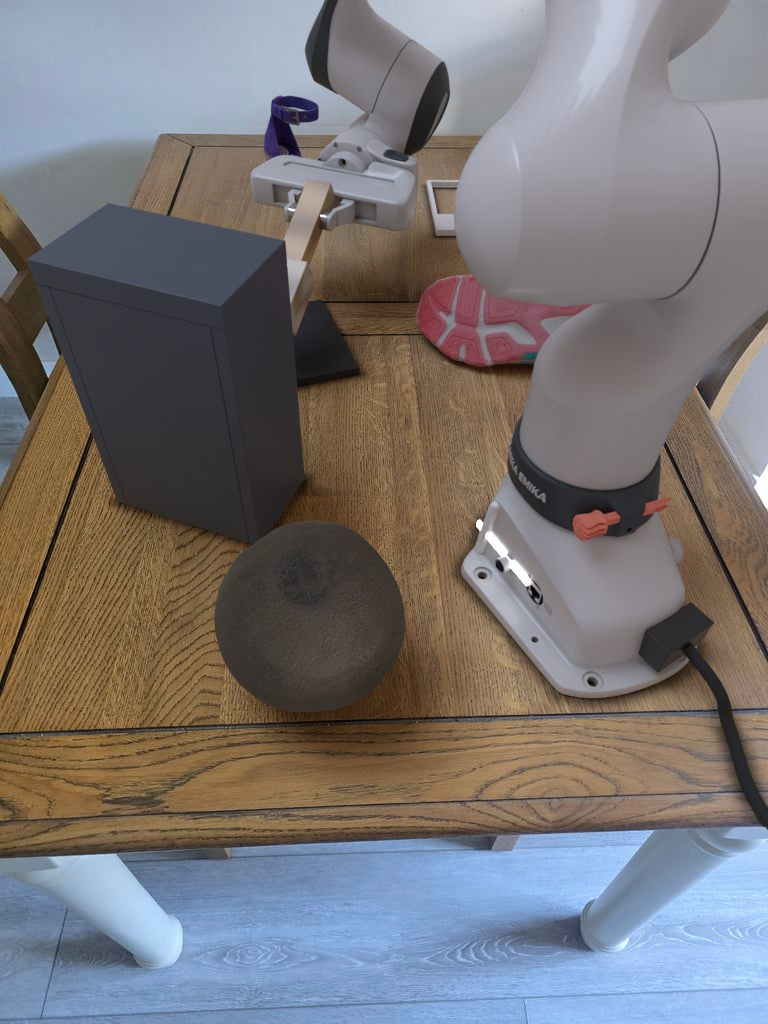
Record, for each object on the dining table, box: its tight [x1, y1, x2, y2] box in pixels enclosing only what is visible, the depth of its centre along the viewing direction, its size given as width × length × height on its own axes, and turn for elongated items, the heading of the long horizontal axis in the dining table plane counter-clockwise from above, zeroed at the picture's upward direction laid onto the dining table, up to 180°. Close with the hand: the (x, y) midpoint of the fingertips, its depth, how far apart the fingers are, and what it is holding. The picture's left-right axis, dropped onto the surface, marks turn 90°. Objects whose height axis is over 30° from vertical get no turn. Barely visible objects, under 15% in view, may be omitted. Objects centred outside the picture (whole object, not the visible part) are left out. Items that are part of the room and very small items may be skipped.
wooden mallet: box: [283, 179, 335, 336], centre depth 80 cm, size 18×6×4 cm, turn 160°
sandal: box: [263, 94, 320, 162], centre depth 110 cm, size 8×20×15 cm, turn 60°
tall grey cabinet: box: [26, 202, 306, 546], centre depth 62 cm, size 10×16×26 cm, turn 70°
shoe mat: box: [293, 298, 360, 387], centre depth 89 cm, size 16×10×1 cm, turn 20°
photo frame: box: [425, 179, 459, 237], centre depth 115 cm, size 15×1×18 cm
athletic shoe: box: [414, 274, 592, 368], centre depth 88 cm, size 27×9×12 cm
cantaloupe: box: [213, 520, 407, 713], centre depth 53 cm, size 14×14×15 cm
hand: (307, 220), depth 81 cm, fingers closed on wooden mallet, 3 cm apart
